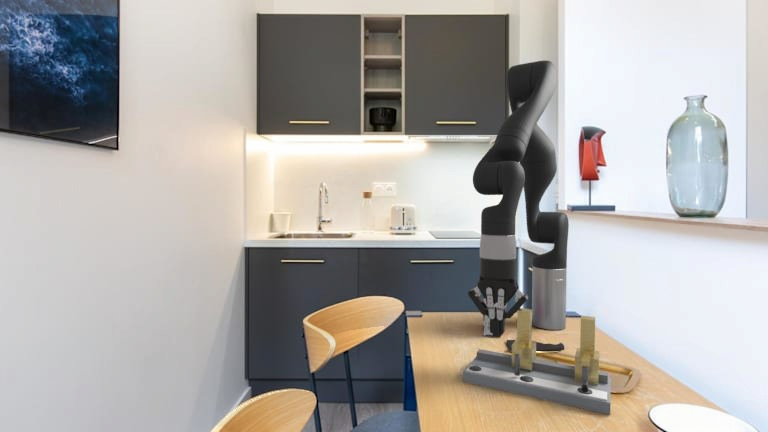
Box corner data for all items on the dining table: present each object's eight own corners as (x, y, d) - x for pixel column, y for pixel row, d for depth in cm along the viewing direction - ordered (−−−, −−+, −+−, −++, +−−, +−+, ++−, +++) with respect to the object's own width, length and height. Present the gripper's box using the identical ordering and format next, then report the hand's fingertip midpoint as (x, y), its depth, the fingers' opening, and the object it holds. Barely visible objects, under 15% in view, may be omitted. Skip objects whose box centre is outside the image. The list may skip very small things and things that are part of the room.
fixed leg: (576, 371, 82) (577, 313, 82) (599, 375, 80) (600, 316, 80) (572, 391, 73) (573, 326, 73) (597, 396, 71) (598, 330, 71)
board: (479, 361, 92) (479, 345, 92) (610, 386, 79) (610, 369, 79) (462, 381, 82) (462, 364, 82) (610, 414, 69) (610, 394, 69)
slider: (516, 358, 88) (517, 306, 87) (536, 362, 86) (536, 308, 85) (505, 375, 79) (506, 317, 79) (527, 380, 77) (528, 320, 77)
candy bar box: (502, 338, 108) (502, 277, 107) (482, 336, 109) (483, 276, 108) (501, 325, 118) (502, 270, 118) (484, 324, 120) (484, 269, 119)
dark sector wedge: (569, 358, 95) (570, 352, 95) (509, 355, 97) (509, 348, 97) (560, 346, 103) (561, 339, 103) (505, 343, 105) (505, 336, 105)
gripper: (533, 255, 87) (532, 335, 87) (473, 251, 93) (472, 326, 94) (526, 260, 80) (525, 346, 81) (462, 255, 87) (461, 335, 87)
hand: (497, 335), depth 87 cm, fingers closed
